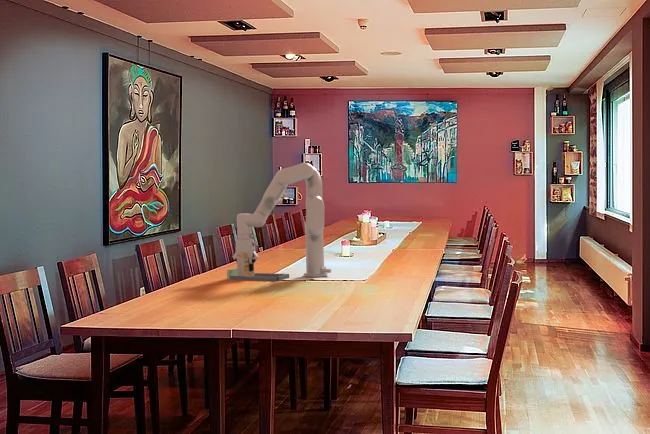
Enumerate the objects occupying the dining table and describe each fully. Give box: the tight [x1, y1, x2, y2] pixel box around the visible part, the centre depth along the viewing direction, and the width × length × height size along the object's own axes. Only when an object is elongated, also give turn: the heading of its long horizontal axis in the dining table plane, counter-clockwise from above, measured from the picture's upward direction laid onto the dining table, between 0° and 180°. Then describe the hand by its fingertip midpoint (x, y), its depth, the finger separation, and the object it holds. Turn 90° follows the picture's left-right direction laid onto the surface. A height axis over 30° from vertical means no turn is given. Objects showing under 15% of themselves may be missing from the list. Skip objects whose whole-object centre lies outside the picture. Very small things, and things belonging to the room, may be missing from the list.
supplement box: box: [236, 253, 255, 276], centre depth 410 cm, size 8×5×13 cm, turn 143°
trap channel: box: [226, 267, 290, 282], centre depth 408 cm, size 30×13×5 cm, turn 68°
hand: (246, 270), depth 410 cm, fingers closed on supplement box, 5 cm apart
